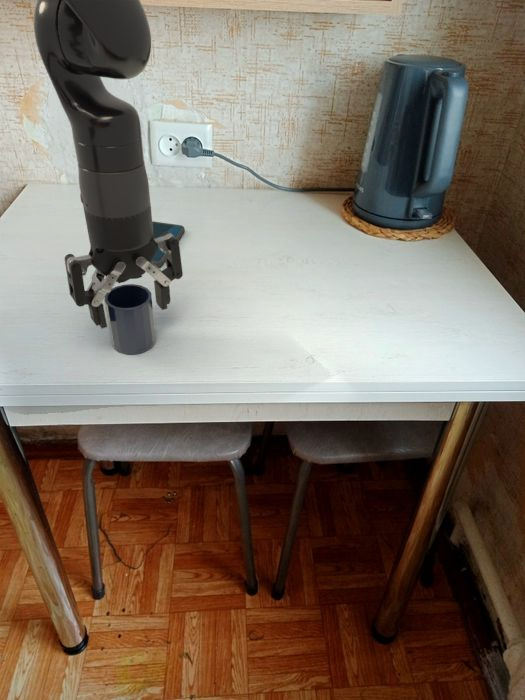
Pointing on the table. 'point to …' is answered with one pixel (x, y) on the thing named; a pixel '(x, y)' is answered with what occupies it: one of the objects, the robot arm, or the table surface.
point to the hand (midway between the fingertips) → (132, 315)
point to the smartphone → (157, 232)
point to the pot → (130, 318)
